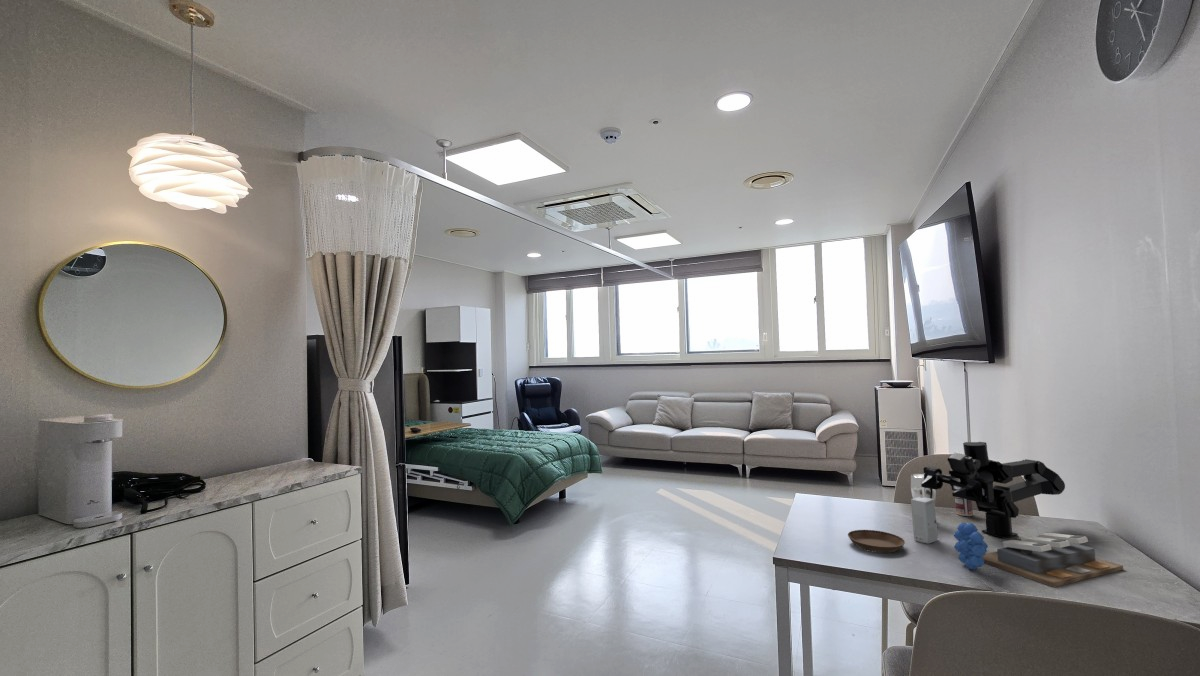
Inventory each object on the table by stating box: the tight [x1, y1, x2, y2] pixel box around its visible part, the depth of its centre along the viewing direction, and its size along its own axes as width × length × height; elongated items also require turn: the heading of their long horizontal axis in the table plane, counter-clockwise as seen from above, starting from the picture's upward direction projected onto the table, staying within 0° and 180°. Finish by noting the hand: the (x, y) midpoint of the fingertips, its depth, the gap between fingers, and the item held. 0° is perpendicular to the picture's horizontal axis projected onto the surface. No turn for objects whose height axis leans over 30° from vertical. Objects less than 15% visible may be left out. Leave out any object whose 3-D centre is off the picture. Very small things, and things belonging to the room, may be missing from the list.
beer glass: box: [910, 473, 937, 505], centre depth 167 cm, size 7×7×15 cm
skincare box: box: [910, 497, 939, 544], centre depth 149 cm, size 6×4×12 cm
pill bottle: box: [954, 497, 974, 517], centre depth 172 cm, size 5×5×8 cm
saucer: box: [847, 529, 906, 554], centre depth 146 cm, size 15×15×3 cm
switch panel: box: [982, 543, 1124, 588], centre depth 129 cm, size 26×18×5 cm
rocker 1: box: [1002, 539, 1052, 552], centre depth 127 cm, size 4×9×1 cm, turn 18°
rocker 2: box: [1038, 532, 1089, 545], centre depth 131 cm, size 4×9×1 cm, turn 18°
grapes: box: [953, 522, 989, 571], centre depth 128 cm, size 12×7×12 cm, turn 171°
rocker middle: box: [1020, 535, 1070, 548], centre depth 129 cm, size 4×9×1 cm, turn 18°
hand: (937, 489), depth 144 cm, fingers open, 9 cm apart
